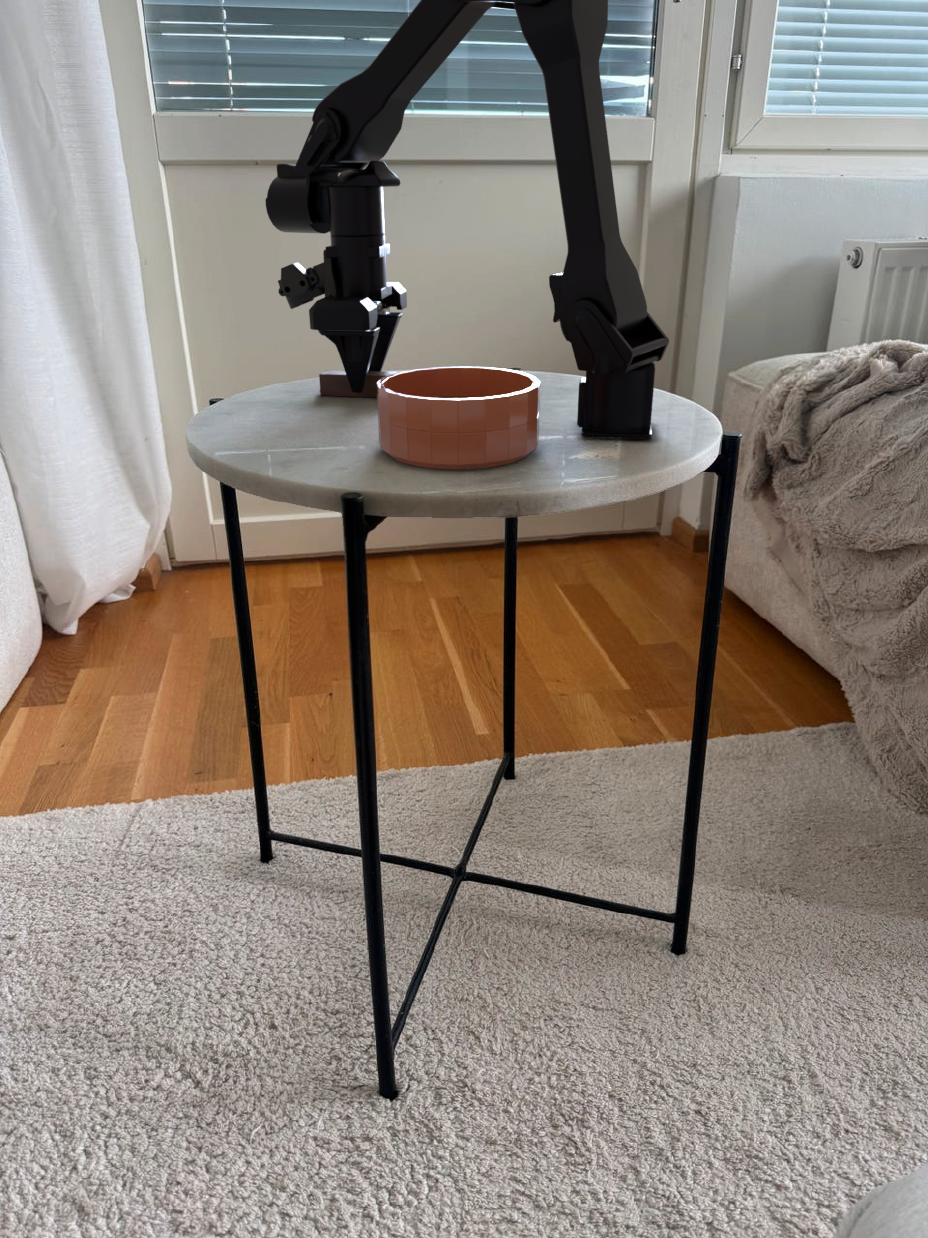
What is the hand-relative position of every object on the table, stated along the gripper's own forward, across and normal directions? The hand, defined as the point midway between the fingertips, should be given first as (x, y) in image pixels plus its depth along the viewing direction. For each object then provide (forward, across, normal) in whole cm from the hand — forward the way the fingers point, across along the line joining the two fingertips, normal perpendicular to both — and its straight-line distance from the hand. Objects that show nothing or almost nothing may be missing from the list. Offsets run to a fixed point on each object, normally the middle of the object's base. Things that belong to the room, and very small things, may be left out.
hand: (365, 385), depth 103 cm
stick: (+1, 0, 0) cm, 1 cm away
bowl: (+1, +21, +14) cm, 25 cm away
